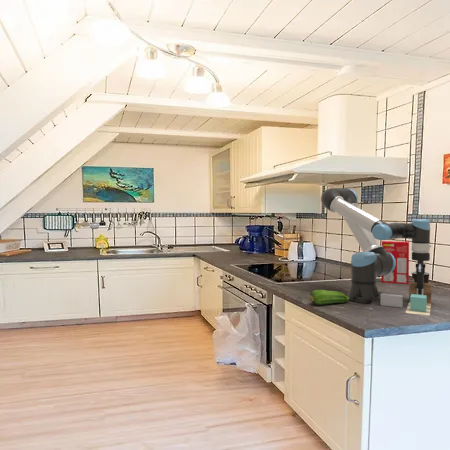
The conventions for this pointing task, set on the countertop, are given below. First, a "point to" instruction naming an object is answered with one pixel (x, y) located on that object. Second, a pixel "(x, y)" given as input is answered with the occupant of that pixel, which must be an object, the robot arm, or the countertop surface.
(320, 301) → the vegetable
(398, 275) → the food packaging
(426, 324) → the countertop surface
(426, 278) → the coffee mug
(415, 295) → the teal block
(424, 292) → the wooden l-shaped stand
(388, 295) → the gray rectangular block
